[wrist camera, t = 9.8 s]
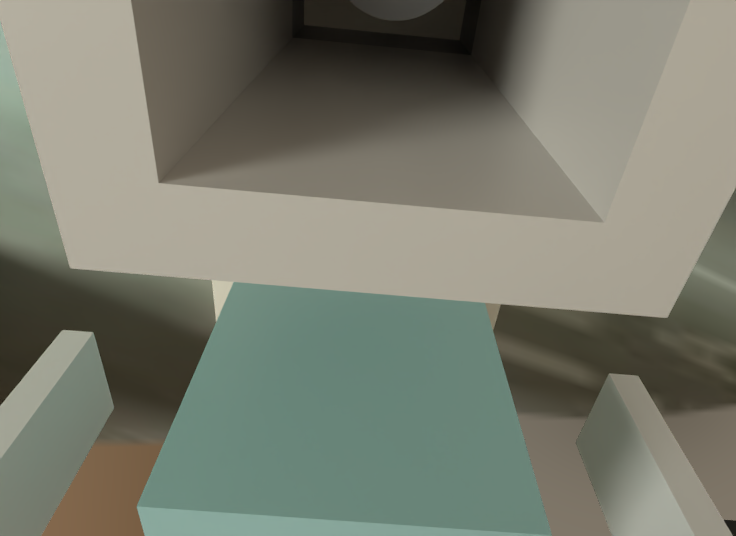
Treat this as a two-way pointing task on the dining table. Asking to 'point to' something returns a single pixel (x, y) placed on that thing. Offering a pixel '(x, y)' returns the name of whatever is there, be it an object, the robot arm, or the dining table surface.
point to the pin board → (385, 15)
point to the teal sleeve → (345, 424)
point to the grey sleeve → (388, 145)
